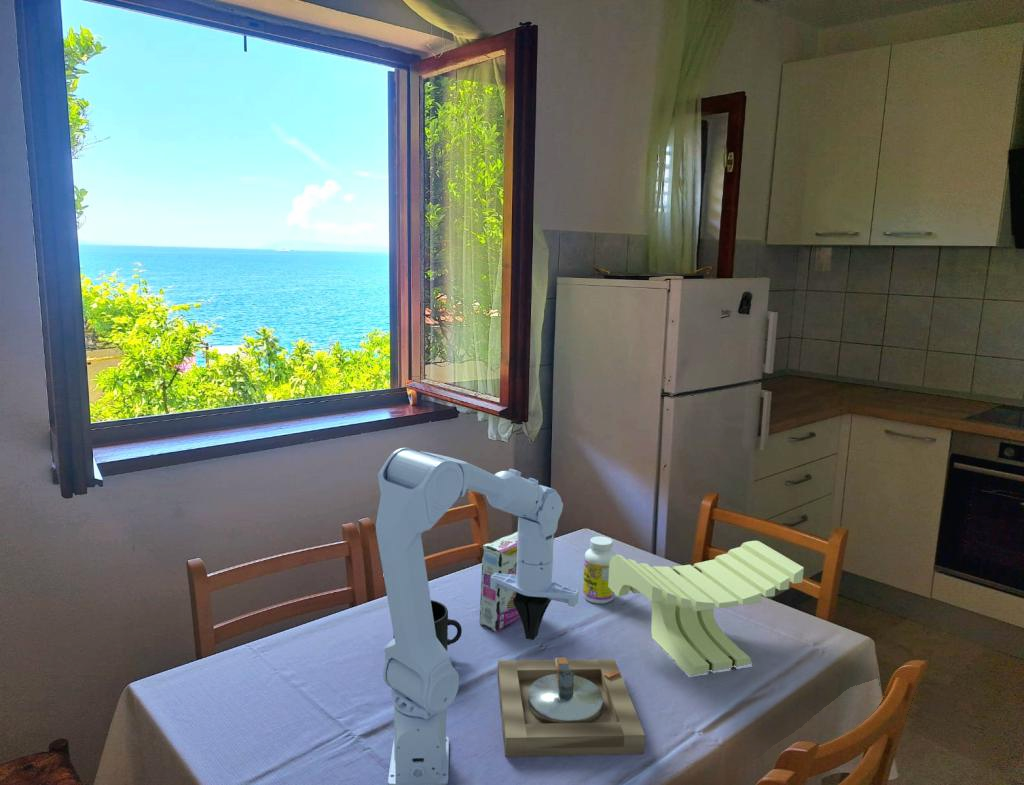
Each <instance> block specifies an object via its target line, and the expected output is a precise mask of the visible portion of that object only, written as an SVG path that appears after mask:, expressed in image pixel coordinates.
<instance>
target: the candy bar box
mask: <svg viewBox="0 0 1024 785" xmlns="http://www.w3.org/2000/svg"><path fill="white" fill-rule="evenodd" d="M517 541H518V531H516V532H513V533H511V534H508V535H506V536H503V537H501V538H500V537H499V538H498V539H496V540H493V541H490V542H488V543H485V544H483V545H482V558H481V579H480V580H481V584H480V606H479V607H480V608H479V625H481V626H482V627H484V628H487V629H488V630H491V631H493V632H495V633H499V632H501V631H502V630H504V629H505V628H508V627H509V626H511V625H513V624H515V623H516V622H518V621H519V620H521V617H520V615H519V613H518V611H517V609H516V607H515V606H514V604H513V599H514V598H515V597H516V592H515V591H511V590H506V589H502V588H497V589H493V588H490V577H491V576H492V575H493V574H495V573H500V574H513V575H516V570H517Z"/></svg>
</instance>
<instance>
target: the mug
mask: <svg viewBox="0 0 1024 785" xmlns="http://www.w3.org/2000/svg"><path fill="white" fill-rule="evenodd" d="M431 605H432V612H433V619H434V625H435V632H436V637H437V639H438V640H439V642H440V643H441V644H442V645H443V647H444V648H445V650H446V651H447V652H448V646H450V645H452V644H454V643H457V642H458V641H459V640H460V638H461V636H462V632H463V629H462V625H461V624H460V622H458V621H457V620H456V619H450V618H449V611H448V607H447V606H446V605H445V604H443V603H442V602H439V601H437V600H432V599H431ZM449 626H454V627H455V628H456V634H455V636H454V637H453V638H449V637H448V636H449V634H448V631H449V629H448V628H449ZM392 635H393V636H392V640H393V639H394V632H393V634H392Z"/></svg>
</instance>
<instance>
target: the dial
mask: <svg viewBox="0 0 1024 785" xmlns="http://www.w3.org/2000/svg"><path fill="white" fill-rule="evenodd" d="M556 658H557V674H552V675H547V676H544V677H541V678H539V679H537V680H536V681H535V682H533V683H532V685H531V686H530V688H529V692H528V706H529V709H530V711H531V712H532V713H533V715H534V716H536V717H537V718H538V719H540V720H541V721H543V722H545V723H547V724H553V723H592V722H594V721H595V720H596V719H598V718H599V716H600V715H601V713H602V706H603V696H602V693H601V691H600V689H599V688H598V687H597V686H596V685H595V684H594V683H592V682H591V681H589V680H587V679H585V678H582V677H579V676H576V675H574V673H572V672H571V671H570V669H569V666H568V662H567V660H568V659H567V657H556Z"/></svg>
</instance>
